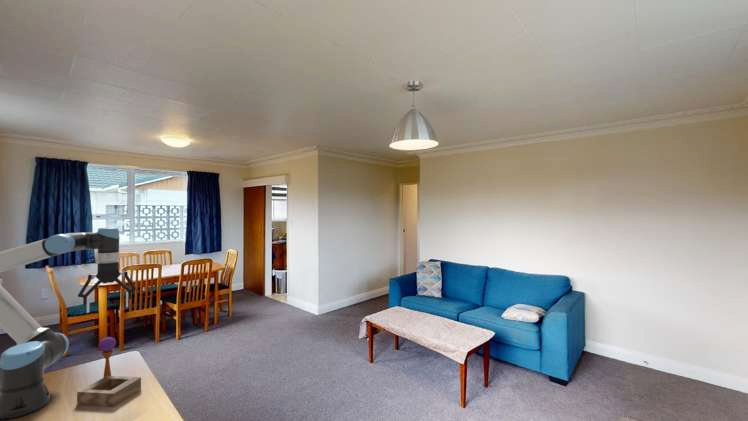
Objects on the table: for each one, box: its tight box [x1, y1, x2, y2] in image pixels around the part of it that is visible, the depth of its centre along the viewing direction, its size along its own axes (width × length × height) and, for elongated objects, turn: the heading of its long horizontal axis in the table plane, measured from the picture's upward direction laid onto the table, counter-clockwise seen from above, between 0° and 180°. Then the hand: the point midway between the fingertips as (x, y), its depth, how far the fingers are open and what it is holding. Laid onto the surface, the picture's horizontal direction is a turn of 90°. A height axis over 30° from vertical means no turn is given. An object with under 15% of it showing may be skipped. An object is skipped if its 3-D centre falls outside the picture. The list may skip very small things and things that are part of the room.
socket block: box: [76, 375, 142, 407], centre depth 135 cm, size 16×13×5 cm
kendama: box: [98, 336, 117, 378], centre depth 147 cm, size 6×6×20 cm
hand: (108, 309), depth 147 cm, fingers open, 13 cm apart
